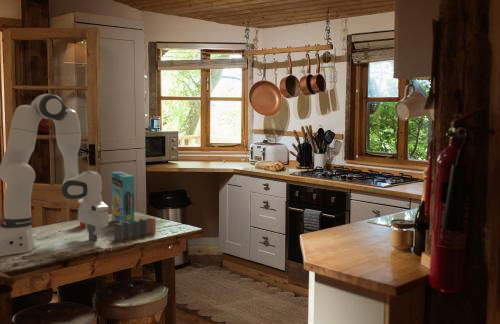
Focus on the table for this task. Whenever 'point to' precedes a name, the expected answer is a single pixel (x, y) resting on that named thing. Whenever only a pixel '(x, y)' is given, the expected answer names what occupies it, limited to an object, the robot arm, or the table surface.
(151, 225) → the end tile
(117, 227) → the tile
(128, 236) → the tile
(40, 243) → the table surface
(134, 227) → the tile
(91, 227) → the dark grey rectangular block
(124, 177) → the game box
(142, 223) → the tile
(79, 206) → the paper cup
